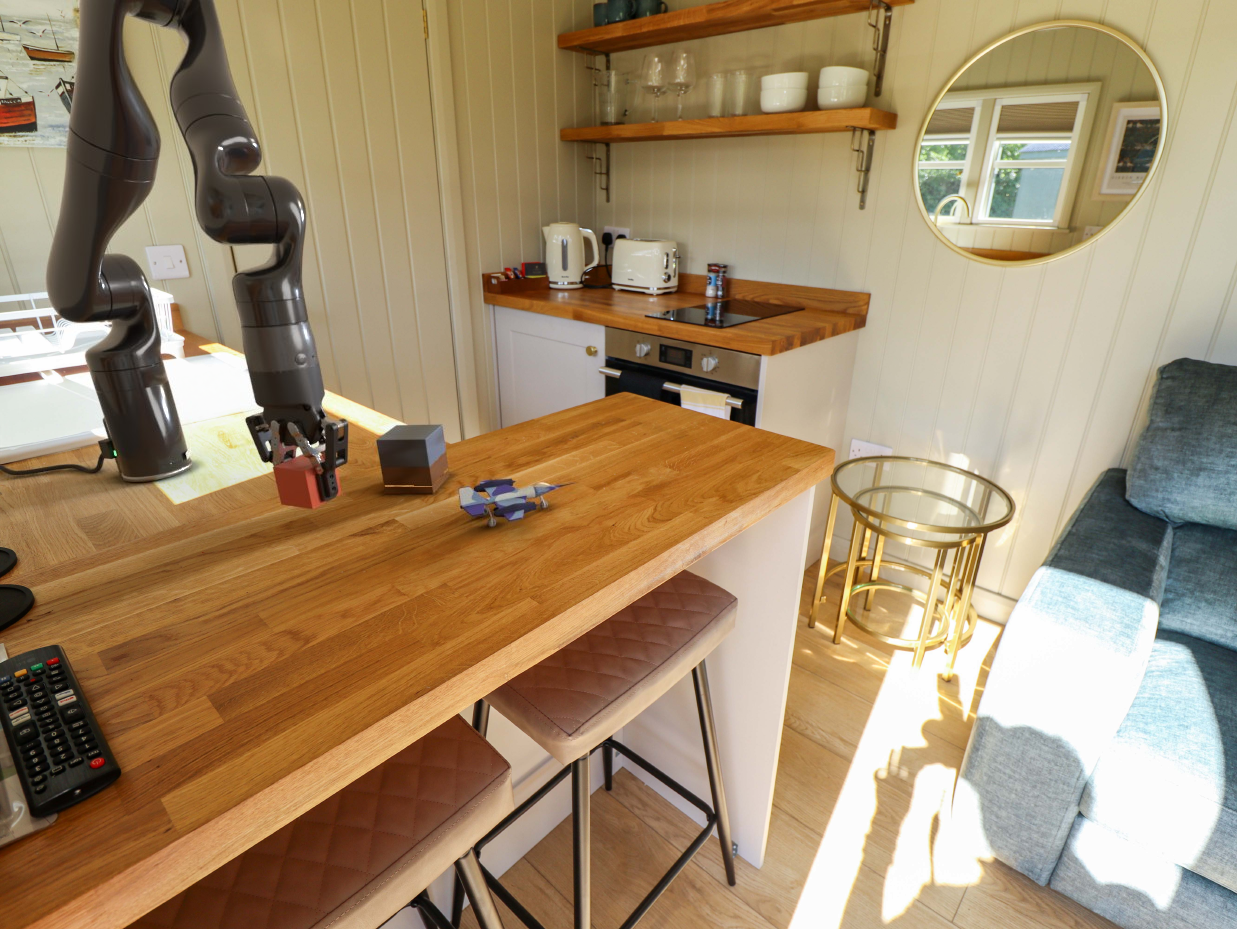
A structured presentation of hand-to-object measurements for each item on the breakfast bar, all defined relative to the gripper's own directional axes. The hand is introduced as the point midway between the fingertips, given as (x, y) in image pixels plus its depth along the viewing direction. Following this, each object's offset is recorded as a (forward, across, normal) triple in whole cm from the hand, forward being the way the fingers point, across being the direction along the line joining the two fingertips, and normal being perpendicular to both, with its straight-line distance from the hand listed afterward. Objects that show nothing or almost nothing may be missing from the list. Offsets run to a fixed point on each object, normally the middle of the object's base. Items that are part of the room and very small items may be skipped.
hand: (311, 495), depth 83 cm
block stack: (+4, -4, -15) cm, 16 cm away
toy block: (0, 0, 0) cm, 0 cm away
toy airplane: (+4, -23, -9) cm, 25 cm away
